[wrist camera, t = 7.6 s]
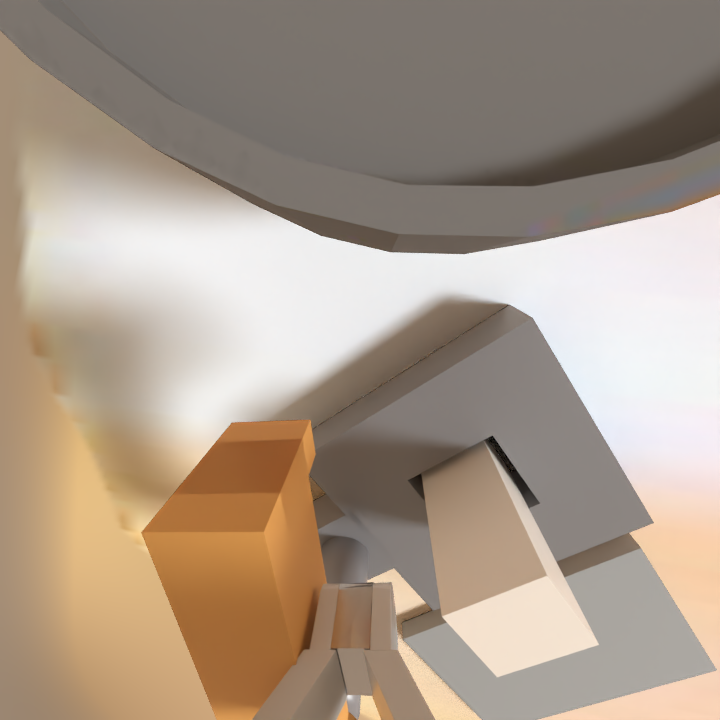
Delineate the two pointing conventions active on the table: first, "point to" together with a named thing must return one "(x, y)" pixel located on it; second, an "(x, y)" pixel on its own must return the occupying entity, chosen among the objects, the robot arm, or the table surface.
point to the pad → (586, 667)
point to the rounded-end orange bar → (244, 562)
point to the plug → (497, 566)
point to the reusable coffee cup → (408, 107)
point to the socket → (453, 435)
